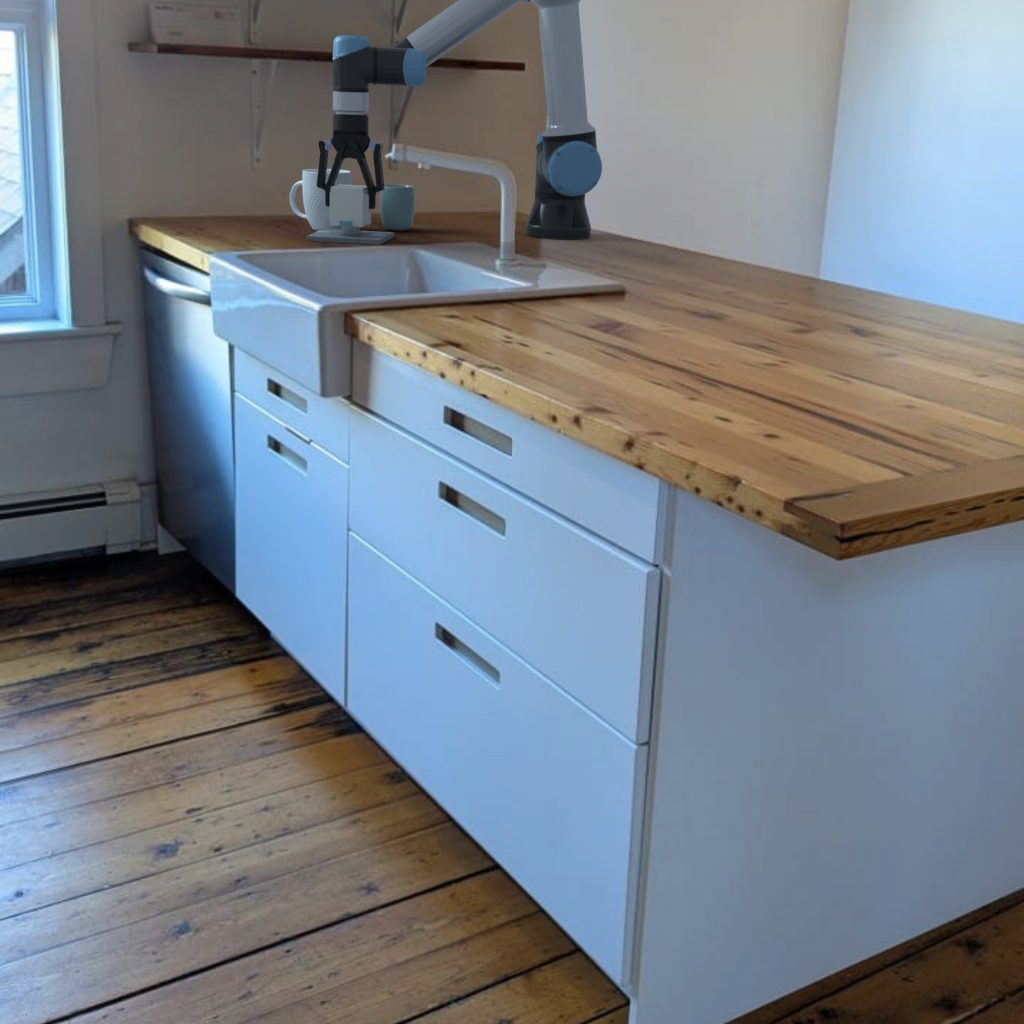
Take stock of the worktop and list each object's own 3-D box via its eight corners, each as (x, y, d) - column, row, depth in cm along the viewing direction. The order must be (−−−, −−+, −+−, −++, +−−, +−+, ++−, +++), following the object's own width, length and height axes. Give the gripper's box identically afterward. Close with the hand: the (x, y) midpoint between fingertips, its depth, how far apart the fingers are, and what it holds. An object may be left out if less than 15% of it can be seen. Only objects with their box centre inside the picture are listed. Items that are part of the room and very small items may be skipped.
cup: (375, 230, 303) (375, 185, 300) (388, 227, 310) (388, 183, 307) (406, 232, 301) (407, 188, 298) (418, 229, 308) (419, 185, 305)
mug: (279, 228, 299) (278, 169, 295) (302, 224, 309) (301, 166, 305) (338, 233, 295) (337, 173, 290) (359, 229, 304) (359, 170, 300)
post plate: (393, 236, 293) (394, 204, 291) (379, 244, 280) (380, 211, 278) (323, 233, 295) (323, 201, 292) (306, 240, 282) (306, 207, 279)
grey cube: (371, 222, 291) (371, 185, 288) (360, 227, 281) (361, 189, 279) (340, 220, 291) (340, 183, 289) (328, 225, 282) (328, 187, 279)
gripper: (400, 114, 281) (399, 224, 289) (309, 110, 283) (310, 218, 291) (393, 115, 274) (391, 227, 282) (300, 111, 276) (301, 222, 284)
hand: (350, 223), depth 286 cm, fingers closed on grey cube, 7 cm apart
